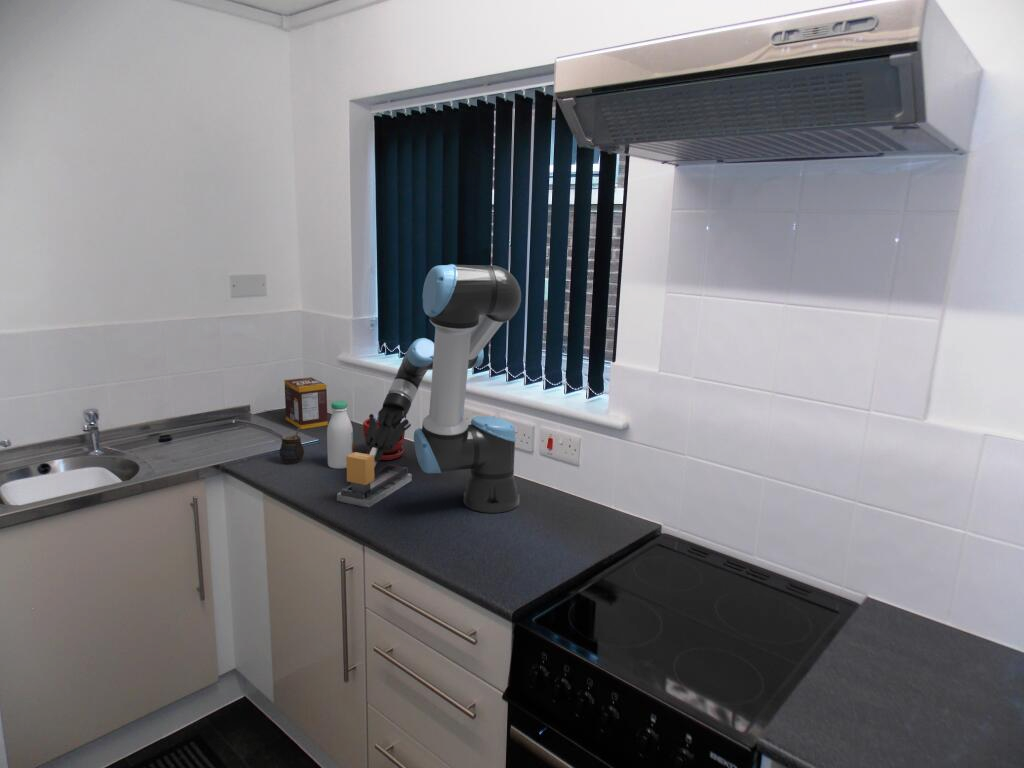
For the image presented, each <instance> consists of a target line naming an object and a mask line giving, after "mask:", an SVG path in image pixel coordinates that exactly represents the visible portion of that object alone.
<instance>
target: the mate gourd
mask: <svg viewBox="0 0 1024 768" xmlns="http://www.w3.org/2000/svg"><path fill="white" fill-rule="evenodd" d="M300 430H301V429H300V428H298V427H297V430H296V432H295V434H288V435H284V436H281V445H280V448H279V451H278V453H279V457H280V460H281V461H282V462H283V463H284V464H289V465H291V464H293V465H294V464H298V463H300V461H302V460H303V458H304V454H305V450H304V447H303V444H302V442H301V441H302V440H301V436H300V435H299V431H300Z"/></svg>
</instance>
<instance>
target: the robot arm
mask: <svg viewBox="0 0 1024 768" xmlns="http://www.w3.org/2000/svg"><path fill="white" fill-rule="evenodd" d="M421 296H422V309H423V311H424V313H425V315H427V317H429V322H430V323H431V324H432V325H433V326H434V327H435V328H434V329H435V330H434V331H435V332H434V342H433V341H432V340H431V339H428V338H426V337H422V338H417V339H415V340H413V342H412V344H411V345H410V346H409V348H408V349H407V352H406V354H405V355H404V356H403V358H402V361H401V363H400V365H399V367H398V370H397V373H396V375H395V377H394V379H393V381H392V383H391V385H390V387H389V389H388V391H387V392H388V393H387V394H386V396H385V398H384V401H383V404H382V408H381V409H380V410H379V411H378V413H375V414H373V413H370V414H369V416H368V419H369V418H370V423H369V428H368V433H367V437H366V442H365V441H364V442H365V444H366V447H367V446H368V447H369V448H370V449H369V448H368V447H367V448H368V449H369V451H368V450H367V451H368V453H367V452H366V454H369V455H374V468H375V467H376V465H377V463H379V462H381V460H380V459H381V457H382V455H383V453H384V452H385V451H391V450H392V449H393V447H394V446H395V445H396V443H397V442H398V440H399V439H400V437H401V436H402V435H403V433H404V432H406V430H408V429H410V427H411V425H412V423H410V421H409V420H408V418H407V414H409V412H410V409H411V406H412V403H413V401H414V399H415V397H416V395H417V393H418V390H419V387H420V385H421V383H422V381H423V379H424V377H425V375H426V373H427V372H428V371H432V372H431V373H432V374H431V385H430V386H431V387H430V398H429V400H430V401H429V414H428V415H426V416H425V417H424V418H423V420H422V427H421V428H417V429H415V431H414V432H413V445H414V451H415V455H416V459H417V462H418V465H419V467H420V469H421V470H422V471H423V472H424V473H425V474H442V473H449V472H456V471H457V472H458V471H465V470H470V475H469V478H468V481H467V484H466V487H465V489H464V492H463V503H464V505H465V506H466V507H467V508H469V510H473V511H477V512H481V513H487V514H488V513H492V514H494V513H498V514H499V513H504V512H509V511H511V510H514V509H516V508H517V507H518V506H519V505H520V491H519V490H518V487H517V482H516V478H515V475H514V474H515V473H514V472H515V452H516V451H515V450H516V447H515V445H516V429H515V426H514V424H513V423H512V422H510V421H509V420H506V419H503V418H500V417H495V416H488V415H487V416H485V415H477V416H474V417H472V418H471V420H470V423H469V422H468V421H467V420H466V418H464V411H465V404H466V403H465V401H466V391H467V382H468V381H467V379H468V371H469V370H468V369H472V368H478V367H480V366H482V364H483V361H484V358H485V357H484V356H485V355H484V348H485V347H486V346H487V344H488V343H489V342H490V341H491V340H492V337H494V335H495V334H496V333H497V331H498V330H499V329H500V327H501V326H502V325H503V324H504V323H506V322H508V321H511V319H513V317H514V316H515V315H516V313H517V312H518V310H519V309H520V306H521V303H522V291H521V286H520V284H519V282H518V281H517V278H515V276H514V275H513V274H512V273H511V272H510V271H509V270H508V269H505V268H503V267H501V266H498V265H491V264H488V265H487V264H486V265H475V264H473V265H472V264H471V265H470V264H469V265H468V264H453V263H450V264H447V265H446V264H445V265H444V264H443V265H442V264H441V265H435V266H434V267H432V268H431V269H430V270H429V272H428V273H427V275H426V277H425V280H424V284H423V289H422V295H421ZM379 419H380V422H379V421H378V420H379ZM377 422H379V427H378V429H377ZM397 426H398V427H397ZM376 429H377V431H376Z"/></svg>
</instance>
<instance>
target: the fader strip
mask: <svg viewBox="0 0 1024 768" xmlns="http://www.w3.org/2000/svg"><path fill="white" fill-rule="evenodd" d="M412 480H413V473H409V467H405V466H400V465H394V464H391V463H390V464H389V463H386V465H385V466H382V467H381V468H379V469H377V470H374V481H372V482H370V490H368V491H366V492H365V493H362V492H357V491H352V490H351V484H350V485H348V486H347V487H345V488H341V489H340V492H338V493H336V501H337V502H341V503H346V504H350V505H356V506H358V507H359V506H360V507H365V508H368V509H369V508H371V507H373V505H375V504H377V503H378V502H381V501H382V500H383V499H385V498H386V497H388V496H390V495H391V494H393V493H394V492H396V491H398V490H399V489H401V488H402V487H404V486H405V485H407V484H408V483H410V482H412Z"/></svg>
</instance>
